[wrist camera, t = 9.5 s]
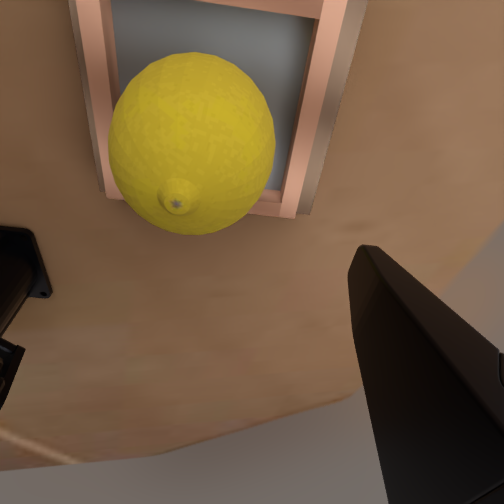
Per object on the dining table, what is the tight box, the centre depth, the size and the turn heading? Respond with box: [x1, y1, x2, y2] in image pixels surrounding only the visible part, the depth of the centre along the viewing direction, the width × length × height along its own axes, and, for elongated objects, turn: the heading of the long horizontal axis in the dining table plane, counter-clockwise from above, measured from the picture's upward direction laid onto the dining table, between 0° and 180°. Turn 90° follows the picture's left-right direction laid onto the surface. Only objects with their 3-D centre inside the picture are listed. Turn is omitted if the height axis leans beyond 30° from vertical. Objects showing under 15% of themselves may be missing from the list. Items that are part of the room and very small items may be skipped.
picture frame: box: [68, 0, 368, 219], centre depth 17 cm, size 12×12×5 cm
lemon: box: [108, 52, 276, 235], centre depth 13 cm, size 6×6×8 cm
